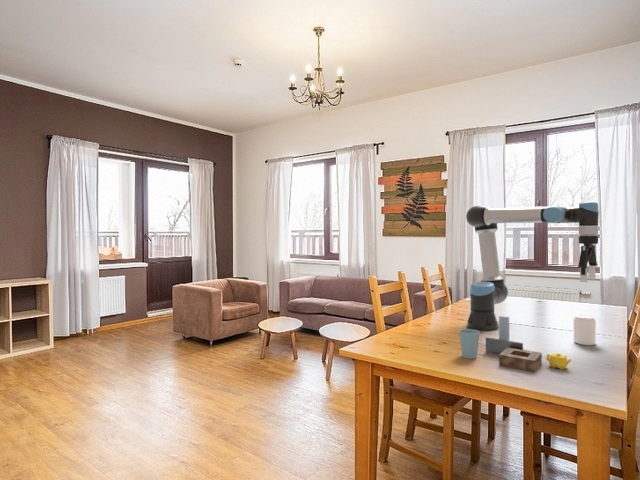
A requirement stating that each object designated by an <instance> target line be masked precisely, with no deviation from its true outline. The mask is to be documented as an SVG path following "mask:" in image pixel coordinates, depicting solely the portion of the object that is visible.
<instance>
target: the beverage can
mask: <svg viewBox="0 0 640 480" xmlns="http://www.w3.org/2000/svg"><path fill="white" fill-rule="evenodd" d="M596 322H597V321H596V319H595V317H594V316H592V315H585V314H576V315H574V318H573V342H575V343H576V344H578V345H581V346H594V345H596V337H597V336H596V333H597V332H596Z"/></svg>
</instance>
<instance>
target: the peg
mask: <svg viewBox="0 0 640 480" xmlns="http://www.w3.org/2000/svg"><path fill="white" fill-rule="evenodd" d="M498 339H501V340H507V341H510V316H507V315H499V316H498Z"/></svg>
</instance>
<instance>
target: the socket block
mask: <svg viewBox="0 0 640 480" xmlns="http://www.w3.org/2000/svg"><path fill="white" fill-rule="evenodd" d="M542 353H543V352H539V351H533V350H528V349H523V350H522V349H516V348H510V347H507V348H506V349H505V350H504V351H503V352H502V353H500V354H498V365H499V366H502V367H508V368H513V369H519V370H522V371H523V370H524V371H527V372H532V373H533V372H534V373H535V372H536V371H537V369H539V367H540V366H541V365H542V363H543V362H542V357H543V355H542Z"/></svg>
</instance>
